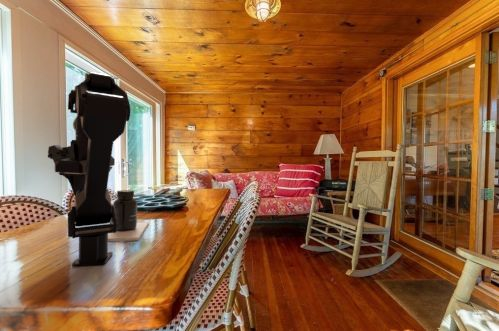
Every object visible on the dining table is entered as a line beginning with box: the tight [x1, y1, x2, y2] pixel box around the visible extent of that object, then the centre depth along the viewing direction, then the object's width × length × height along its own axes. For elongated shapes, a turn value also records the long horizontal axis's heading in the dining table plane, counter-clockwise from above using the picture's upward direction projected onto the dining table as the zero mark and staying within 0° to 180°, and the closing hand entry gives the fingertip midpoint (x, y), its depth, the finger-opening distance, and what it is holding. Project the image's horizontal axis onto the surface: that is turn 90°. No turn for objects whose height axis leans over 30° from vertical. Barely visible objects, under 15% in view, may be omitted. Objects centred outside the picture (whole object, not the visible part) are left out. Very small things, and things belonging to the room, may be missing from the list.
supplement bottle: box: [112, 189, 138, 231], centre depth 84 cm, size 7×7×12 cm
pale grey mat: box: [108, 221, 150, 242], centre depth 83 cm, size 18×12×1 cm, turn 12°
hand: (88, 195), depth 72 cm, fingers open, 9 cm apart
